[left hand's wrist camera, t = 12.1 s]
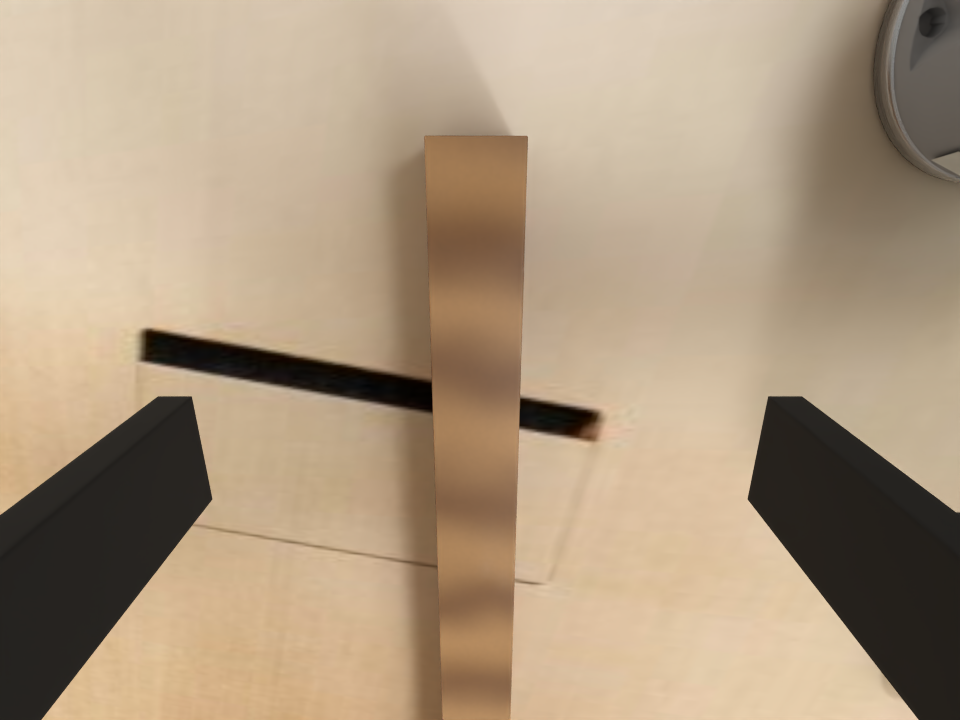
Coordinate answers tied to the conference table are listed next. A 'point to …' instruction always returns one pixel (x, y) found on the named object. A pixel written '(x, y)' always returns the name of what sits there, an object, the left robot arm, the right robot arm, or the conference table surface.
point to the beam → (476, 407)
